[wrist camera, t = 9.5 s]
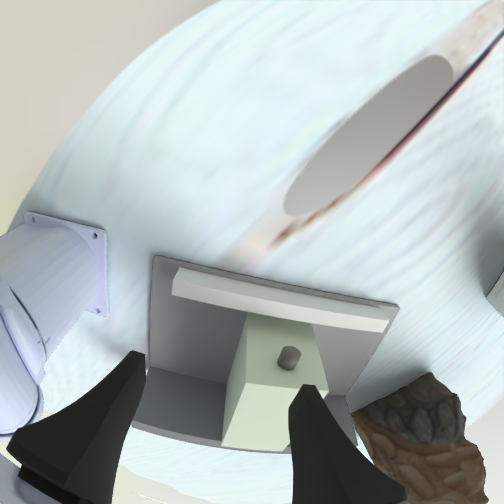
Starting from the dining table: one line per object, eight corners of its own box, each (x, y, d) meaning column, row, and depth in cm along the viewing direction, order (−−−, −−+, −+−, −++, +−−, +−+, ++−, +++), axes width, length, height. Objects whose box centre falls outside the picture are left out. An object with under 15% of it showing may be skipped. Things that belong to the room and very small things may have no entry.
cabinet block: (226, 383, 23) (221, 445, 17) (251, 299, 20) (249, 371, 13) (277, 390, 24) (282, 451, 17) (315, 311, 20) (336, 380, 14)
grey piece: (151, 371, 24) (132, 427, 17) (155, 254, 19) (115, 309, 12) (337, 399, 25) (350, 451, 19) (397, 305, 20) (435, 359, 14)
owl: (439, 362, 24) (505, 491, 6) (443, 401, 28) (485, 498, 10) (348, 412, 27) (380, 554, 8) (371, 439, 31) (397, 543, 12)
